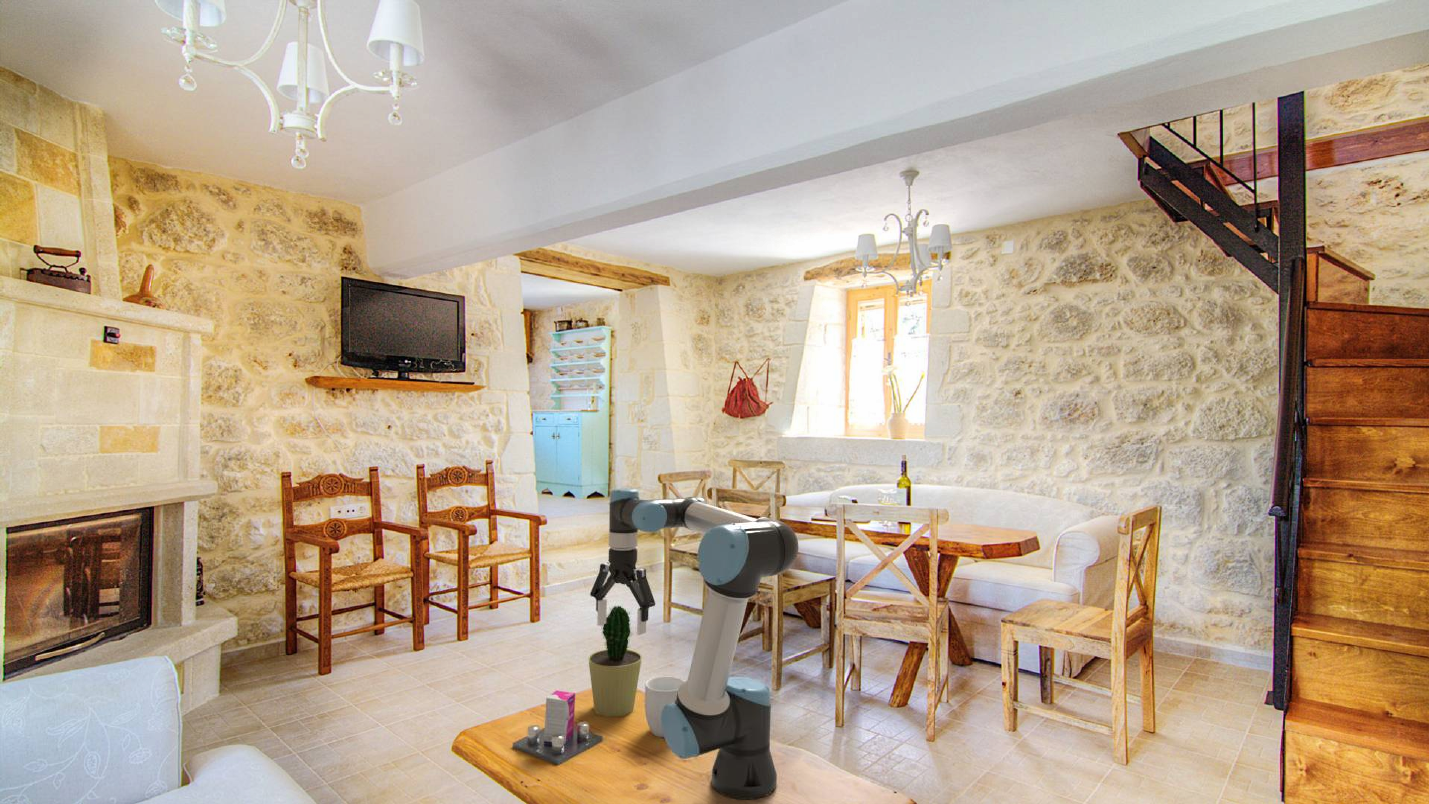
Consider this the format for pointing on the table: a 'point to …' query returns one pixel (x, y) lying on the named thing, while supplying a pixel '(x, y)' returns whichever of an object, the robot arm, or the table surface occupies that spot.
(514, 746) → the chassis
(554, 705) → the supplement box
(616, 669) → the potted cactus
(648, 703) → the mug
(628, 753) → the table surface
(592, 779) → the table surface
